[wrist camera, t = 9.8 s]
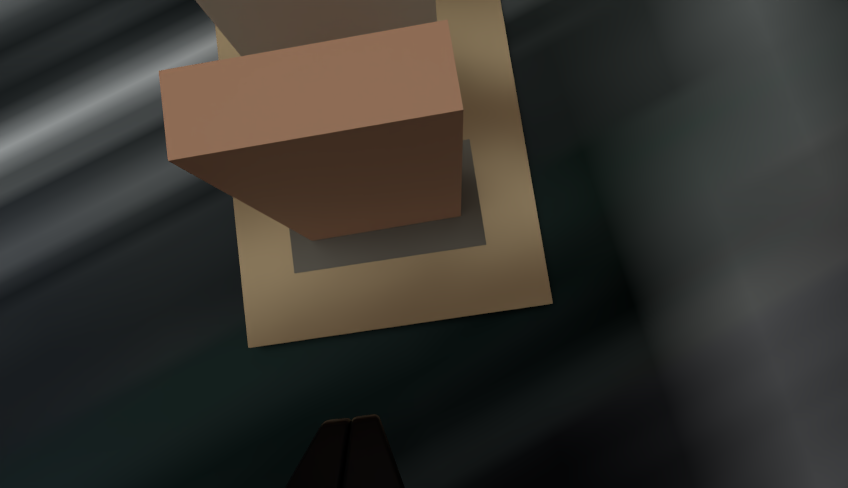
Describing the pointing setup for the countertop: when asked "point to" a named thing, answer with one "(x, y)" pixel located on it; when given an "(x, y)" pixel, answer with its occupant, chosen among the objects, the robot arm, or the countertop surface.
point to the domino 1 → (309, 20)
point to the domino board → (413, 225)
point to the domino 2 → (327, 130)
